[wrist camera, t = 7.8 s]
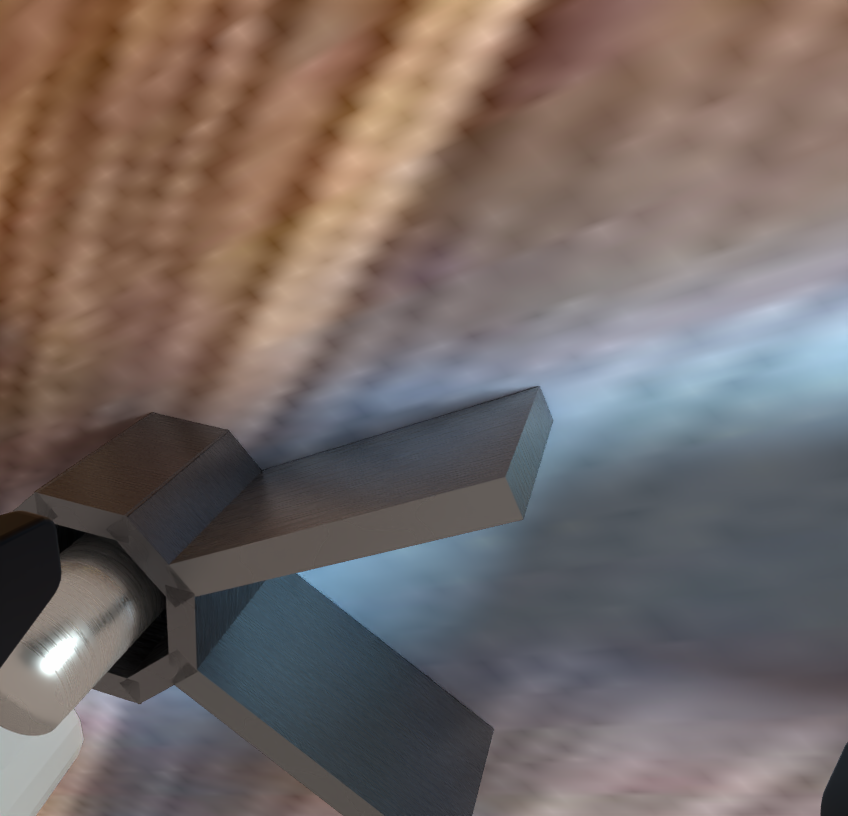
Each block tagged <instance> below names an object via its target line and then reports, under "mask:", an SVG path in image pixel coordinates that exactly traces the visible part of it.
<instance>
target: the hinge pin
mask: <svg viewBox="0 0 848 816" xmlns="http://www.w3.org/2000/svg"><path fill="white" fill-rule="evenodd" d="M60 561H61V569H62V575H61V581H60V584H59V587H58V589H57V591H56V593H55V594H54V596H53V597H52V599H51V600H50V601H49V603H48V604H47V606H46V607H45V608H44V610H43V611H42V612H41V614H40V615H39V616H38V618H37V619H36V620H35V622H34V623H33V625H32V626H31V627H30V629H29V630H28V631H27V633H26V634H25V635H24V637H23V638H22V640H21V641H20V642H19V644H18V645H17V646H16V648H15V649H14V650H13V652H12V653H11V654H10V656H9V657H8V659H7V660H6V661H5V663H4V664H3V665H2V667H1V668H0V727H2V728H4V729H6V730H9V731H12V732H14V733H18V734H22V735H27V736H39V735H44V734H47V733H49V732H51V731H53V730H54V729H55V728H56V727H57V726H58V725H59V724H60V723H61V722H62V721H63V720H64V719H65V717H66V716H67V715H68V714H69V713H70V712H71V711H72V710H73V709H74V708H75V707H76V705H77V704H78V703H79V702H80V701H81V700H82V699H83V698H84V697H85V696H86V695H87V693H88V692H89V691H90V690H91V689H92V688H93V687H94V686H95V685H96V684H97V683H98V681H99V680H100V679H101V678H102V677H103V676H104V675H105V674H106V673H107V672H108V670H109V669H110V668H111V667H112V666H113V665H114V664H115V663H116V662H117V661H118V660H119V658H120V657H121V656H122V655H123V654H124V653H125V652H126V651H127V650H128V649H129V648H130V646H131V645H132V644H133V643H134V642H135V641H136V640H137V639H138V638H139V637H140V636H141V634H142V633H143V632H144V631H145V630H146V629H147V628H148V627H149V626H150V625H151V624H152V622H153V621H154V620H155V619H156V618H157V617H158V616H159V615H160V614H161V613H162V612H163V610H164V609H165V608H166V596H165V595H164V594H163V593H162V592H161V591H160V590H159V588H158V587H157V586H156V585H155V584H154V583H153V582H152V581H151V579H150V578H149V577H148V576H147V575H146V574H145V573H144V572H143V570H142V569H141V568H140V567H139V566H138V565H137V564H136V563H135V561H134V560H133V559H132V558H131V557H130V556H129V555H128V553H127V552H126V551H125V550H124V549H123V548H122V547H121V546H120V544H119V543H118V542H117V541H116V540H113V539H109V538H105V537H102V536H98V535H94V534H91V533H87V532H86V533H85V534H84V535H83V536H81V537H80V538H79V539H78V540H77V541H75V542H74V543H73V544H72V545H70V546H69V547H68V548H67V549H65V550H64V551H63V552H62V553H60Z"/></svg>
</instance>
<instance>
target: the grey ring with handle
mask: <svg viewBox="0 0 848 816" xmlns="http://www.w3.org/2000/svg"><path fill="white" fill-rule="evenodd" d="M552 423H553V419H552V416H551V414H550V411H549V409H548V406H547V404H546V401H545V399H544V396H543V393H542V391H541V388H540V386H539V387H536V388H532V389H529V390H526V391H522V392H519V393H516V394H513V395H509V396H506V397H503V398H499V399H496V400H493V401H490V402H486V403H483V404H480V405H476V406H473V407H470V408H467V409H463V410H460V411H457V412H453V413H450V414H447V415H443V416H440V417H437V418H434V419H430V420H427V421H424V422H420V423H417V424H414V425H411V426H407V427H404V428H401V429H397V430H394V431H391V432H388V433H384V434H381V435H378V436H374V437H371V438H368V439H365V440H361V441H358V442H355V443H351V444H348V445H345V446H342V447H338V448H335V449H332V450H328V451H325V452H322V453H318V454H315V455H312V456H309V457H305V458H302V459H299V460H295V461H292V462H289V463H286V464H282V465H279V466H276V467H272V468H269V469H266V470H263V471H262V470H261V469H260V468H259V467H258V465H257V464H256V463H255V462H254V461H253V459H252V458H251V457H250V456H249V455H248V453H247V452H246V451H245V450H244V449H243V447H242V446H241V445H240V444H239V443H238V441H237V440H236V439H235V438H234V437H233V435H232V434H231V433H230V432H229V430H228V429H227V430H225V429H221V428H216V427H212V426H208V425H203V424H199V423H194V422H190V421H186V420H181V419H177V418H173V417H168V416H164V415H160V414H155V413H154V412H153V413H150V414H149V415H147V416H146V417H144V418H143V419H141V420H140V421H138V422H137V423H136V424H134V425H133V426H131V427H130V428H128V429H127V430H125V431H124V432H122V433H121V434H119V435H118V436H116V437H115V438H113V439H112V440H110V441H109V442H107V443H106V444H104V445H103V446H101V447H100V448H98V449H97V450H96V451H94V452H93V453H91V454H90V455H88V456H87V457H85V458H84V459H82V460H81V461H79V462H78V463H76V464H75V465H73V466H72V467H70V468H69V469H67V470H66V471H64V472H63V473H61V474H60V475H58V476H57V477H56V478H54V479H53V480H51V481H50V482H48V483H47V484H45V485H44V486H42V487H41V488H39V489H38V490H36V491H35V492H34V494H33V495H32V496H30V497H29V498H28V499H27V500H26V501H24V502H23V503H22V504H21V505H20V506H19V507H17V508H16V509H15V510H14V511H27V512H31V513H35V514H38V515H42V516H46V517H48V518H50V519H51V520H52V521H53V522H54V524H55V525H56V529H57V536H58V544H59V553H62V552H63V551H64V550H65V549H67V548H68V547H69V546H70V545H72V544H73V543H74V542H75V541H77V540H78V539H79V538H80V537H81V536H83V535H84V534H85V533H86V532H87V533H91V534H94V535H98V536H102V537H105V538H109V539H113V540H116V541H117V542H118V543H119V544H120V546H121V547H122V548H123V549H124V550H125V551H126V552H127V553H128V555H129V556H130V557H131V558H132V559H133V560H134V561H135V563H136V564H137V565H138V566H139V567H140V568H141V569H142V570H143V572H144V573H145V574H146V575H147V576H148V577H149V578H150V579H151V581H152V582H153V583H154V584H155V585H156V586H157V587H158V588H159V590H160V591H161V592H162V593H163V594H164V595H165V596H166V608H165V609H164V610H163V612H162V613H161V614H160V615H159V616H158V617H157V618H156V619H155V620H154V621H153V622H152V624H151V625H150V626H149V627H148V628H147V629H146V630H145V631H144V632H143V633H142V634H141V636H140V637H139V638H138V639H137V640H136V641H135V642H134V643H133V644H132V645H131V646H130V648H129V649H128V650H127V651H126V652H125V653H124V654H123V655H122V656H121V657H120V658H119V660H118V661H117V662H116V663H115V664H114V665H113V666H112V667H111V668H110V669H109V670H108V672H107V673H106V674H105V675H104V676H103V677H102V678H101V679H100V680H99V681H98V683H97V684H96V685H95V686H94V687H93V688H92V689H94V690H97V691H100V692H104V693H107V694H110V695H113V696H116V697H119V698H123V699H126V700H129V701H132V702H135V703H138V704H141V703H142V702H144V701H146V700H148V699H149V698H151V697H153V696H155V695H157V694H158V693H160V692H162V691H164V690H166V689H167V688H169V687H171V686H173V685H175V686H177V687H178V688H179V689H180V690H182V691H183V692H184V693H186V694H187V695H188V696H189V697H191V698H192V699H193V700H195V701H196V702H197V703H199V704H200V705H201V706H202V707H204V708H205V709H206V710H208V711H209V712H210V713H211V714H213V715H214V716H215V717H217V718H218V719H219V720H220V721H222V722H223V723H224V724H226V725H227V726H228V727H229V728H231V729H232V730H233V731H235V732H236V733H237V734H239V735H240V736H241V737H242V738H244V739H245V740H246V741H248V742H249V743H250V744H251V745H253V746H254V747H255V748H257V749H258V750H259V751H260V752H262V753H263V754H264V755H266V756H267V757H268V758H269V759H271V760H272V761H273V762H275V763H276V764H277V765H279V766H280V767H281V768H282V769H284V770H285V771H286V772H288V773H289V774H290V775H291V776H293V777H294V778H295V779H297V780H298V781H299V782H300V783H302V784H303V785H304V786H306V787H307V788H308V789H310V790H311V791H312V792H313V793H315V794H316V795H317V796H319V797H320V798H321V799H322V800H324V801H325V802H326V803H328V804H329V805H330V806H331V807H333V808H334V809H335V810H337V811H338V812H339V813H340V814H342V815H343V816H472V814H473V810H474V806H475V802H476V798H477V794H478V790H479V786H480V782H481V778H482V774H483V770H484V766H485V762H486V758H487V755H488V751H489V747H490V743H491V739H492V735H493V731H494V729H493V728H492V727H490V726H489V725H488V724H486V723H485V722H484V721H483V720H481V719H480V718H479V717H478V716H476V715H475V714H474V713H472V712H471V711H470V710H469V709H467V708H466V707H465V706H464V705H462V704H461V703H460V702H458V701H457V700H456V699H455V698H453V697H452V696H451V695H450V694H448V693H447V692H446V691H445V690H443V689H442V688H441V687H439V686H438V685H437V684H436V683H434V682H433V681H432V680H431V679H429V678H428V677H427V676H425V675H424V674H423V673H422V672H420V671H419V670H418V669H417V668H415V667H414V666H413V665H411V664H410V663H409V662H408V661H406V660H405V659H404V658H403V657H401V656H400V655H399V654H398V653H396V652H395V651H394V650H392V649H391V648H390V647H389V646H387V645H386V644H385V643H384V642H382V641H381V640H380V639H378V638H377V637H376V636H375V635H373V634H372V633H371V632H370V631H368V630H367V629H366V628H364V627H363V626H362V625H361V624H359V623H358V622H357V621H356V620H354V619H353V618H352V617H350V616H349V615H348V614H347V613H345V612H344V611H343V610H342V609H340V608H339V607H338V606H337V605H335V604H334V603H333V602H331V601H330V600H329V599H328V598H326V597H325V596H324V595H323V594H321V593H320V592H319V591H317V590H316V589H315V588H314V587H312V586H311V585H310V584H309V583H307V582H306V581H305V580H303V579H302V578H301V577H300V576H298V575H297V574H296V573H298V572H303V571H307V570H311V569H315V568H320V567H324V566H328V565H332V564H337V563H341V562H345V561H349V560H354V559H358V558H362V557H366V556H371V555H375V554H379V553H383V552H388V551H392V550H396V549H400V548H405V547H409V546H413V545H417V544H422V543H426V542H430V541H434V540H439V539H443V538H447V537H451V536H456V535H460V534H464V533H469V532H473V531H477V530H481V529H486V528H490V527H494V526H498V525H503V524H507V523H511V522H515V521H520V520H523V519H524V516H525V512H526V509H527V506H528V502H529V499H530V496H531V493H532V489H533V486H534V483H535V479H536V476H537V473H538V469H539V466H540V463H541V459H542V456H543V453H544V449H545V446H546V443H547V440H548V436H549V433H550V430H551V426H552ZM14 511H13V512H14Z"/></svg>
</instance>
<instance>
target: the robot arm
mask: <svg viewBox="0 0 848 816" xmlns="http://www.w3.org/2000/svg"><path fill="white" fill-rule="evenodd" d="M61 575H62V569H61V561H60V553H59V544H58V536H57V529H56V525H55V524H54V522H53V521H52V520H51V519H50V518H48V517H46V516H42V515H38V514H35V513H31V512H27V511H14V512H11V513H7V514H3V515H0V668H1V667H2V665H3V664H4V663H5V661H6V660H7V659H8V657H9V656H10V654H11V653H12V652H13V650H14V649H15V648H16V646H17V645H18V644H19V642H20V641H21V640H22V638H23V637H24V635H25V634H26V633H27V631H28V630H29V629H30V627H31V626H32V625H33V623H34V622H35V620H36V619H37V618H38V616H39V615H40V614H41V612H42V611H43V610H44V608H45V607H46V606H47V604H48V603H49V601H50V600H51V599H52V597H53V596H54V594H55V593H56V591H57V589H58V587H59V584H60V581H61ZM820 815H821V816H848V742H847V744H846V745H845V747H844V749H843V752H842V754H841V756H840V758H839V760H838V762H837V765H836V767H835V769H834V771H833V773H832V775H831V777H830V780H829V782H828V784H827V786H826V788H825V791H824V793H823V797H822V802H821V813H820Z"/></svg>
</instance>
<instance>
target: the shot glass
mask: <svg viewBox="0 0 848 816" xmlns="http://www.w3.org/2000/svg"><path fill="white" fill-rule="evenodd" d="M83 741H84V739H83V733H82V728H81V722H80V719H79V717H78V715H77V714H76V712H75V710H74V709H73V710H72V711H71V712H70V713H69V714H68V715H67V716H66V717H65V719H64V720H63V721H62V722H61V723H60V724H59V725H58V726H57V727H56V728H55V729H54V730H53V731H51V732H49V733H47V734H44V735H39V736H27V735H22V734H18V733H14V732H12V731H9V730H6V729H4V728H2V727H0V816H36V815H37V813H38V812H39V810H40V809H41V808H42V806H43V805H44V803H45V802H46V801H47V799H48V798H49V796H50V795H51V793H52V792H53V791H54V789H55V788H56V786H57V785H58V784H59V782H60V781H61V779H62V778H63V776H64V775H65V774H66V772H67V771H68V769H69V768H70V767H71V765H72V764H73V762H74V761H75V759H76V758H77V757H78V755H79V752H80V749H81V746H82V744H83Z"/></svg>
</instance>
